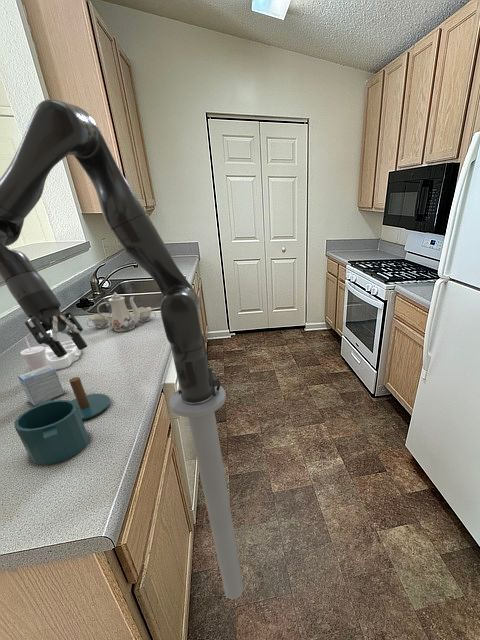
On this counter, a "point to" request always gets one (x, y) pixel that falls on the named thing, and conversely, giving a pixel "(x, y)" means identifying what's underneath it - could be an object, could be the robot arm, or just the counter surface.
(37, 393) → the medicine box
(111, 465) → the counter surface
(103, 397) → the lid
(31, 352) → the smoothie
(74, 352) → the white holed tray
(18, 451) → the counter surface
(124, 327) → the chinaware
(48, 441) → the cooking pot
